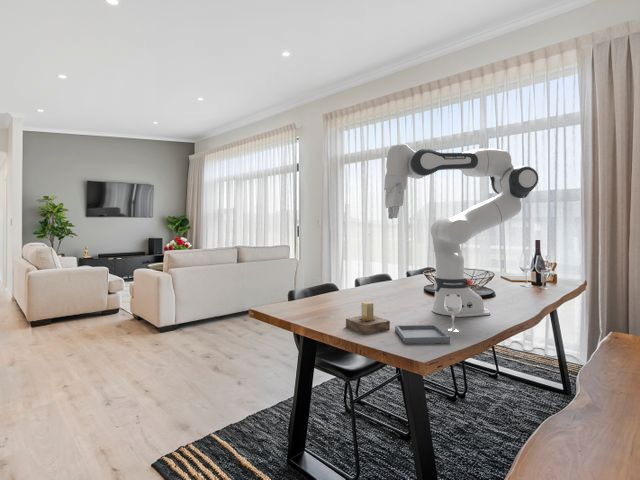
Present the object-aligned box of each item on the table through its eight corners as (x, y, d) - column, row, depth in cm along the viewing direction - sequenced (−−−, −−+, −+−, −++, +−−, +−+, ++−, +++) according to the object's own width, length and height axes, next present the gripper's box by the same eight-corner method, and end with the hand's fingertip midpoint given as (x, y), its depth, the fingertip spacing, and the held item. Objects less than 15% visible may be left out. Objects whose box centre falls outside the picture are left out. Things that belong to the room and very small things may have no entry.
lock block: (369, 322, 141) (369, 314, 141) (389, 329, 132) (389, 320, 132) (345, 326, 136) (345, 318, 135) (365, 334, 126) (364, 325, 126)
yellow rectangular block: (368, 326, 136) (368, 301, 135) (373, 328, 133) (373, 303, 133) (361, 327, 134) (361, 302, 134) (366, 329, 132) (366, 304, 131)
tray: (435, 330, 130) (435, 324, 130) (449, 343, 116) (449, 336, 116) (395, 330, 130) (395, 325, 130) (404, 344, 116) (404, 337, 116)
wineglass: (441, 328, 133) (441, 294, 132) (457, 327, 133) (457, 293, 133) (448, 332, 127) (448, 297, 126) (464, 332, 127) (465, 297, 127)
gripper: (409, 182, 143) (406, 218, 143) (398, 187, 163) (395, 219, 164) (392, 180, 143) (389, 217, 143) (383, 186, 163) (381, 218, 164)
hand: (392, 218), depth 154 cm, fingers open, 8 cm apart
